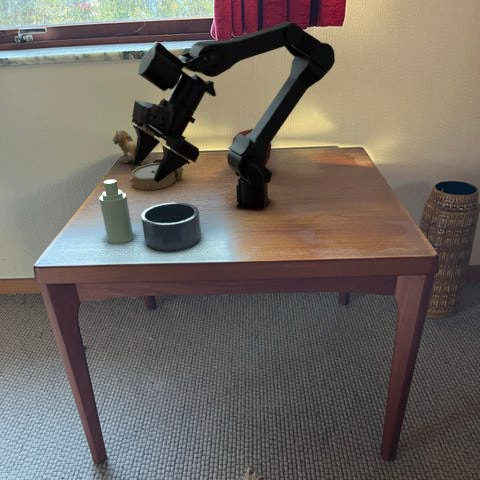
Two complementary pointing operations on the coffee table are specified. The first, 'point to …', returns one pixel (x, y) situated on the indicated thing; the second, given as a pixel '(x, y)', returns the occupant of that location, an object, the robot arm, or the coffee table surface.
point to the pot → (171, 226)
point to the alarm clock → (146, 175)
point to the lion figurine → (126, 145)
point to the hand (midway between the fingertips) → (145, 173)
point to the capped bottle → (115, 214)
